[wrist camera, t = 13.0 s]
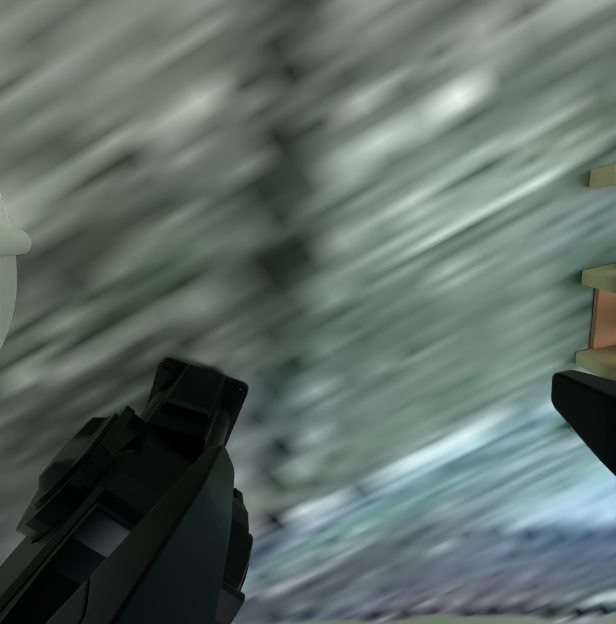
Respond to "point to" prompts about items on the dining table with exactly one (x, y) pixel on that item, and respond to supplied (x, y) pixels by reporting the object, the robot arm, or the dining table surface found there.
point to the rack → (601, 303)
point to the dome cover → (9, 267)
